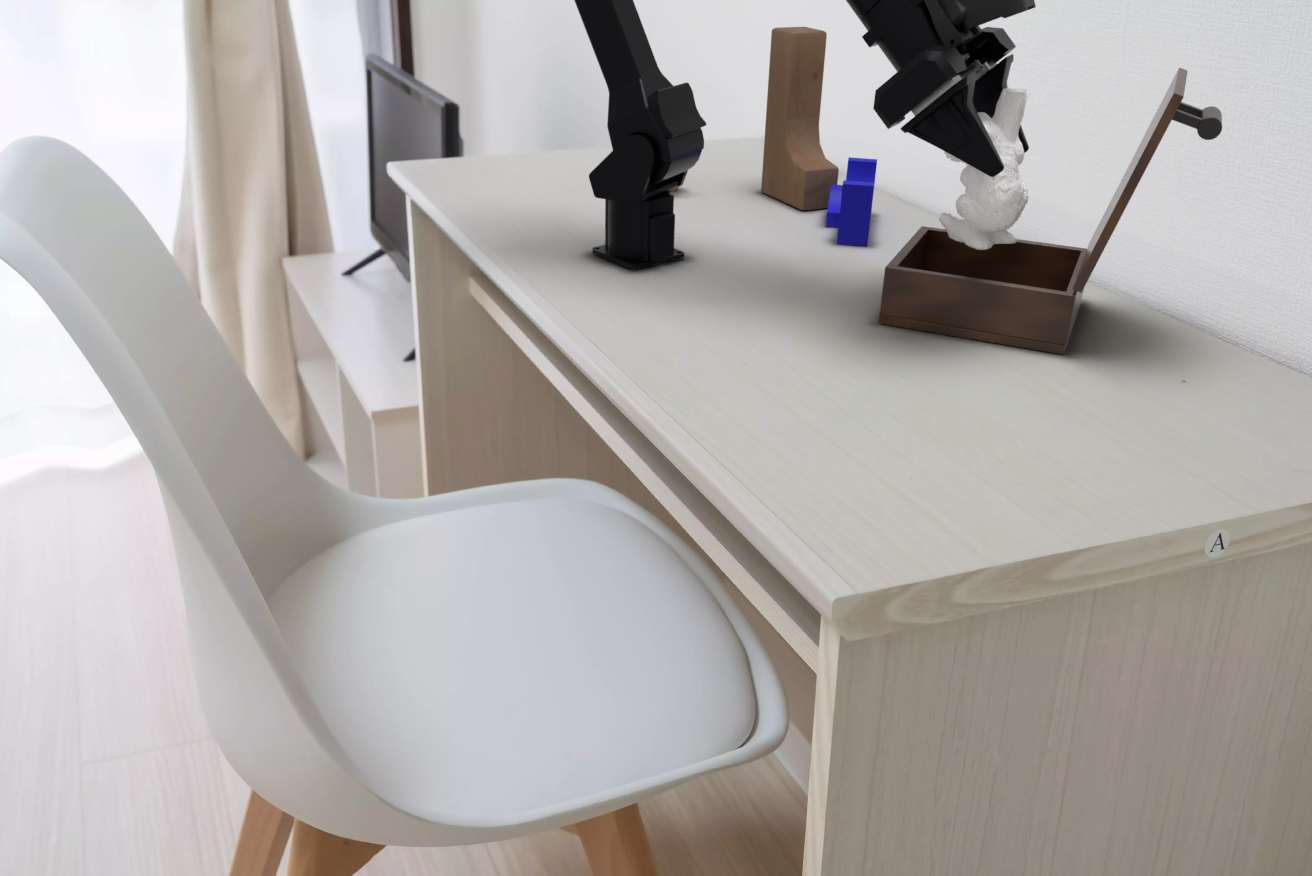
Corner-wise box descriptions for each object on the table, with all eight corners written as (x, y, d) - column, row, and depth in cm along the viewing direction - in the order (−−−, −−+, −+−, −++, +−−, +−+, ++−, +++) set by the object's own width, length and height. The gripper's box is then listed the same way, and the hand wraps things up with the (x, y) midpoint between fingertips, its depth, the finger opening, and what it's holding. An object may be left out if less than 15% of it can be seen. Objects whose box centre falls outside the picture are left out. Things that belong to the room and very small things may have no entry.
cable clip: (829, 211, 123) (834, 156, 120) (871, 215, 122) (877, 159, 119) (821, 242, 112) (827, 182, 109) (867, 246, 111) (873, 186, 109)
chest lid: (1173, 92, 76) (1236, 115, 75) (1179, 67, 88) (1233, 87, 87) (1072, 289, 84) (1127, 312, 83) (1089, 243, 96) (1138, 262, 95)
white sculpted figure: (964, 224, 95) (990, 77, 90) (1040, 242, 91) (1071, 90, 86) (916, 244, 89) (940, 88, 84) (994, 264, 85) (1025, 102, 80)
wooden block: (836, 208, 124) (853, 36, 116) (802, 211, 122) (816, 38, 114) (792, 189, 131) (805, 26, 123) (759, 192, 129) (770, 27, 121)
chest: (878, 323, 92) (885, 267, 90) (914, 277, 103) (921, 225, 101) (1063, 355, 87) (1075, 296, 85) (1081, 302, 98) (1092, 249, 96)
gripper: (942, -77, 74) (1080, 116, 74) (1009, -82, 88) (1125, 79, 89) (818, 37, 81) (945, 213, 81) (899, 15, 95) (1007, 164, 96)
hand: (1011, 163), depth 86 cm, fingers closed on white sculpted figure, 8 cm apart
